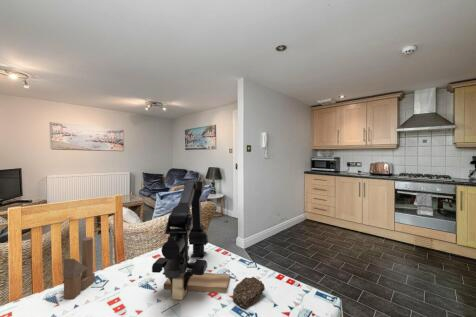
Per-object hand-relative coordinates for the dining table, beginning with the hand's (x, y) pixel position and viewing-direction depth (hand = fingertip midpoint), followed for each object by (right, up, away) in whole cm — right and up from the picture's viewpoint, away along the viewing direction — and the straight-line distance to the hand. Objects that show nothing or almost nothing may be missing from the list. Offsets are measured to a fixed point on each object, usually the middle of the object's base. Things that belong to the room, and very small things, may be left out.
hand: (180, 289), depth 75 cm
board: (+5, -2, +7) cm, 9 cm away
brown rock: (+24, -3, -1) cm, 24 cm away
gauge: (0, -2, +4) cm, 5 cm away
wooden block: (-38, -2, +3) cm, 39 cm away
